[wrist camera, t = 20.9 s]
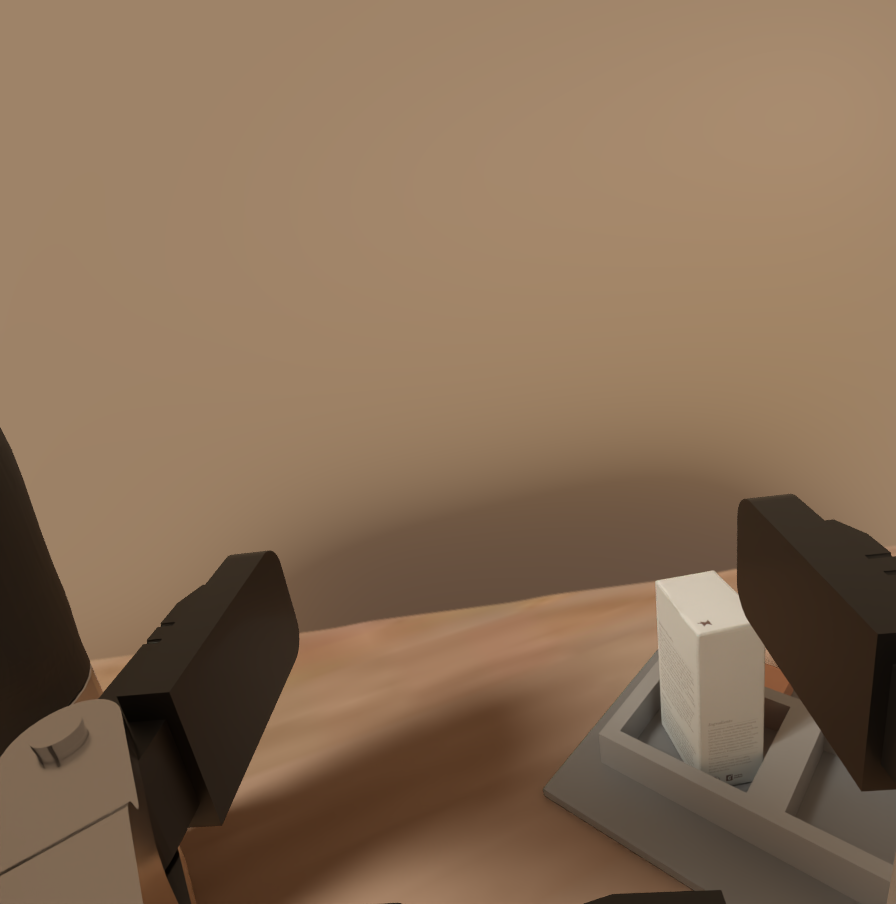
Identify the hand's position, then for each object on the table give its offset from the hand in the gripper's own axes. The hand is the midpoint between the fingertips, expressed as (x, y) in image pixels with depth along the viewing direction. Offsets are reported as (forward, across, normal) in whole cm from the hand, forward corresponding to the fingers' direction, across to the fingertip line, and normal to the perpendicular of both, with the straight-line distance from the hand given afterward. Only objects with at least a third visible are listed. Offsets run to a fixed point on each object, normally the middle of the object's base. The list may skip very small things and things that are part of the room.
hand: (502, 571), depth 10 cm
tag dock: (+20, -14, +30) cm, 39 cm away
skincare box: (+23, -11, +30) cm, 39 cm away
